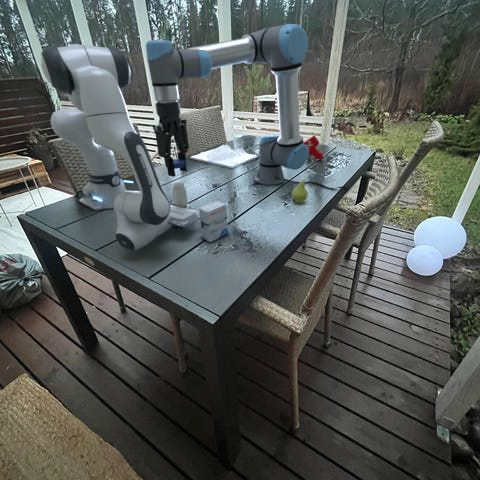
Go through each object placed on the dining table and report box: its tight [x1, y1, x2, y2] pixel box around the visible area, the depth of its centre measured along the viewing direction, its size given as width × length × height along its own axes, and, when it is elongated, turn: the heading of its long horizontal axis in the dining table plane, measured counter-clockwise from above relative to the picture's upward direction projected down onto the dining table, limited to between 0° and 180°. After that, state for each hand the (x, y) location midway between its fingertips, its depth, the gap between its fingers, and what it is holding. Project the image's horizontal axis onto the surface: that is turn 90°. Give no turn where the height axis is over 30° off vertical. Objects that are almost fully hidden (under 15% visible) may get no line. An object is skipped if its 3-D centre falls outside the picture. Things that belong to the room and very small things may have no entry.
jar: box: [171, 182, 189, 208], centre depth 104 cm, size 5×5×15 cm
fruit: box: [291, 174, 311, 204], centre depth 118 cm, size 7×8×12 cm
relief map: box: [190, 144, 259, 169], centre depth 178 cm, size 27×35×5 cm
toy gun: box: [303, 135, 324, 163], centre depth 173 cm, size 18×4×15 cm
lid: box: [173, 158, 185, 169], centre depth 96 cm, size 6×6×2 cm
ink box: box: [198, 200, 228, 243], centre depth 95 cm, size 8×5×12 cm, turn 135°
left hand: (182, 205), depth 105 cm, fingers closed on jar, 5 cm apart
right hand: (177, 173), depth 98 cm, fingers closed on lid, 5 cm apart
